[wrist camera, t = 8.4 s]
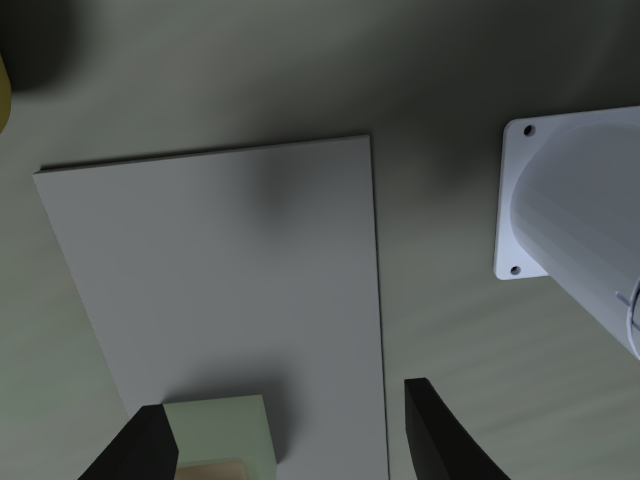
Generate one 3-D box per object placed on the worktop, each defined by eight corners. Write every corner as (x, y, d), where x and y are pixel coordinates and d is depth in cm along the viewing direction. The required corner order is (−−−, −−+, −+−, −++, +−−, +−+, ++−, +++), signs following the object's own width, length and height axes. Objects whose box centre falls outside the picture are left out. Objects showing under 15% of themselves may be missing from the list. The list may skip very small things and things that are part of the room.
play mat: (367, 134, 19) (369, 137, 19) (387, 487, 29) (389, 496, 29) (39, 170, 19) (31, 174, 19) (171, 508, 29) (168, 516, 29)
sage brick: (261, 394, 25) (253, 455, 21) (277, 465, 27) (272, 530, 23) (159, 404, 25) (133, 467, 21) (183, 474, 27) (164, 540, 24)
